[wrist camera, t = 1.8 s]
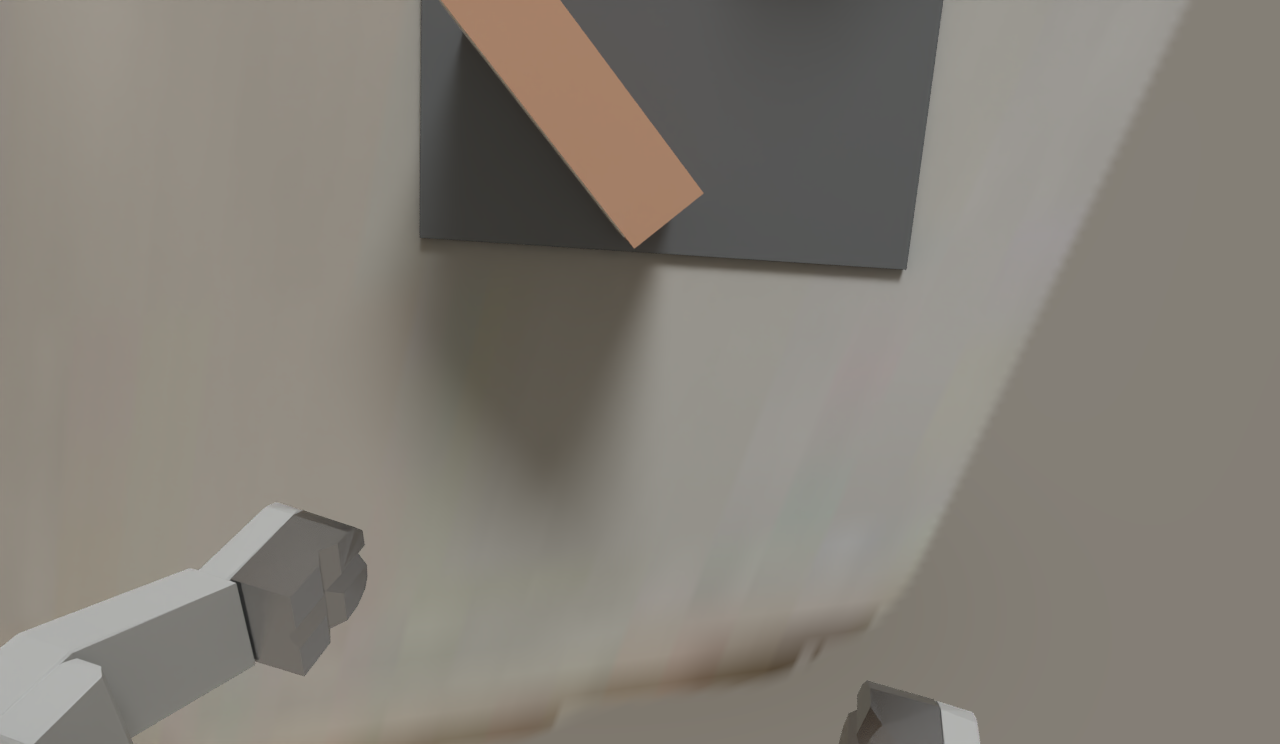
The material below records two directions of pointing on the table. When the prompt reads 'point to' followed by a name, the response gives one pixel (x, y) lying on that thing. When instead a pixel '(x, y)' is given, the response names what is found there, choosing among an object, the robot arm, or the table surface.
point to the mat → (703, 129)
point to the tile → (580, 110)
